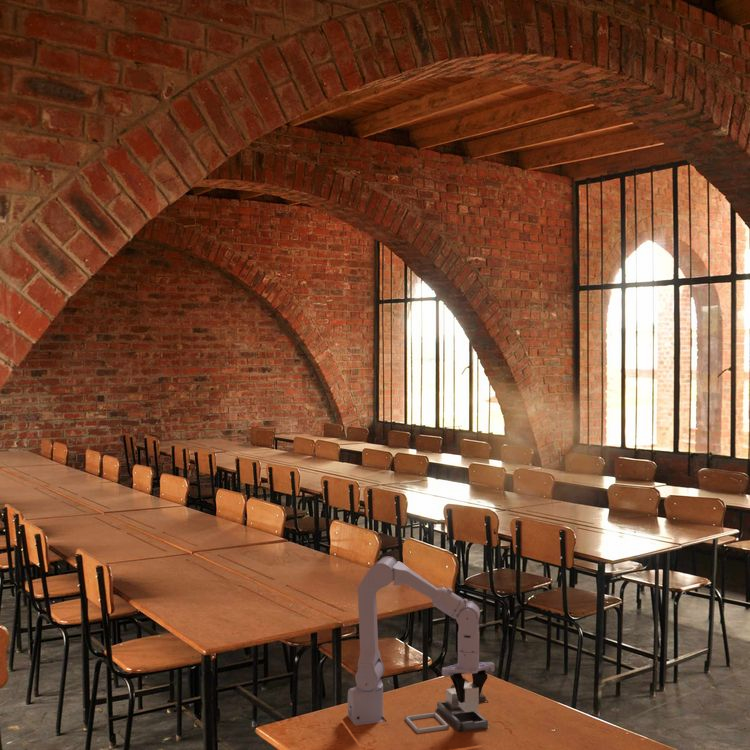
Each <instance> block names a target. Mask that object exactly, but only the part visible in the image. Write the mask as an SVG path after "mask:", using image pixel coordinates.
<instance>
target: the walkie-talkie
mask: <svg viewBox="0 0 750 750" xmlns="http://www.w3.org/2000/svg"><path fill="white" fill-rule="evenodd" d="M463 678H464V679H465V683H469V682H470V681H468V679H466V678H465V677H463ZM450 688H455V687H454V684H452V685H450ZM486 698H487V696H486V695H484V693H483V689H482V690H481V693H480V697H479V703H485V704H488V703H489V700H487V699H486Z"/></svg>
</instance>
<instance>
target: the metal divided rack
mask: <svg viewBox="0 0 750 750" xmlns="http://www.w3.org/2000/svg"><path fill="white" fill-rule="evenodd" d="M434 710H435V712H436V713H437V714H438V715H439V716H440V717H441V718H442V717H443V719H444V720H445V721H446V722H448V724H449V725H450V726H452V728H454V730H455V731H457V732H458V733H466V732H472V731H473V732H474V731H481V730H486V729H490V726H489V721H488V720H487V719H486V718H485V717H483V716H482V715H481V713H479V712H478V710H475V711H468V712H464V711H463V710H459V711H452V712H450V711H449V710H448V709H447V708H446V700H445V701H437V703H436V708H435V709H434Z"/></svg>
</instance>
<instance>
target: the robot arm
mask: <svg viewBox="0 0 750 750" xmlns="http://www.w3.org/2000/svg"><path fill="white" fill-rule="evenodd" d="M392 581H393V584H392V585H393V586H400V585H406V586H408V587H409V588H412V589H413V590H414V591H416V592H419V593H420V594H421V595H424V596H425V597H427V598H429V599H430V600H431V602H432V605H433V607H435V608H437V610H440V611H441V612H442V613H444V614H446V615H447V616H449V617H451V618H452V619H454V620H455V621H456V623H457V625H458V631H457V663H455V664H453V665H448V666H445V667H442V668H441V675H442V676H443V677H444V678H449V677H450V679H451V682H452V683H453V684H452V685H454V687H455V690H456V693H457V698H458V701H459V702H460V703H463V699H464V693H463V692H464V683H465V679H466V678H465V677H464V676H463V675H467V674H471V676H472V682H473V683H474V684H475V685H476V686H478V687H479V697H480V693H481V690H482V691H483V688H484V684H485V683H486V681H487V679H488V673H486V672H495V663H494V662H492V661H480V626H479V621H480V616H481V610H480V607H479V606H478V605H477V604H476V603H475V602H474V601H472V600H468V599H467V598H462V597H461V596H460V595H457V594H456V593H455V592H453V589H452V588H450V587H448V588H446V587H445V586H442V587H437V586H435V585H434V584H432V583H431V582H430V581H428V580H427V579H425V578H423V577H422V576H421V575H419V574H418V573H417V572H415V571H414V570H412V569H411V568H409V567H408V566H407V565H406V564H404V563H403V562H402V561H399V560H398V561H397V559H395V557H393V556H383V557H382V558H380V559H378V561H376V562H374V563H373V564H372V566H371V567H370V568H369V569H368V570H367V571H366V573H365V575H364V576H363V578H362V580H361V581H360V583H359V585H358V586H357V605H358V608H357V609H358V628H359V629H358V630H359V631H358V632H359V657H358V661H357V670H356V673H355V676H354V678H355V679H354V680H355V683H356V686H354V687H351V688H348V690H347V713H346V716H347V717H348V718H349V719H350V721H351V722H352V724H353V725H354V726H362V725H368V724H369V725H370V724H375V723H382V722H387V720H386V719H385V718H384V683H383V682H382V681H383V680H382V677H383V675H384V674H385V665H384V662H383V661H382V657H381V656H382V655H381V652H380V649H379V632H378V630H379V629H378V608H377V607H378V606H377V605H378V604H377V593H378V592H379V591H380V590H381V589H383V588H385V587H387V586H389V585H390V584H391V583H392ZM464 678H465V679H464Z"/></svg>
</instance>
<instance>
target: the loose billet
mask: <svg viewBox="0 0 750 750" xmlns="http://www.w3.org/2000/svg"><path fill="white" fill-rule="evenodd" d="M463 693H464V699H463V703H460V702H459V707H460V708H461V709H462V710H463V711H464V712H468V711H475V710H476V711H479V706H480V705H479V703H480V702H479V687H478V686H476V685H475V684H474V683H473V681H471V682H470V681H469V683H464V692H463Z"/></svg>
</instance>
